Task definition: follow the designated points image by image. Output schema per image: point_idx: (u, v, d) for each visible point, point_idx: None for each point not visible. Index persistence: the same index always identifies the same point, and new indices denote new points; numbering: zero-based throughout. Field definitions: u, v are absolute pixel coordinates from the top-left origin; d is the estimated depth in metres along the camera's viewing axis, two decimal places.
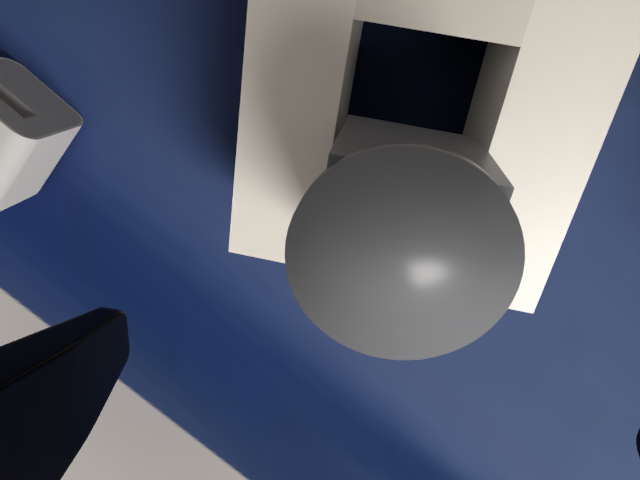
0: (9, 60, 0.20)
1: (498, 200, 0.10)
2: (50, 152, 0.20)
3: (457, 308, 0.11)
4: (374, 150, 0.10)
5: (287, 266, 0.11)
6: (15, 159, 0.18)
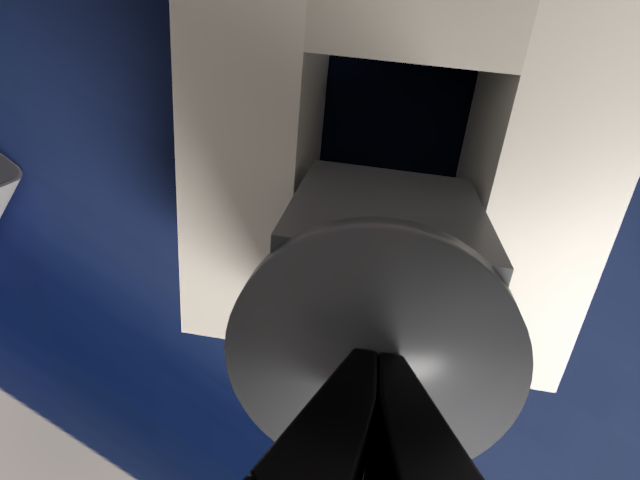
0: None
1: (493, 292, 0.07)
2: None
3: (450, 421, 0.08)
4: (324, 235, 0.07)
5: (230, 375, 0.09)
6: None
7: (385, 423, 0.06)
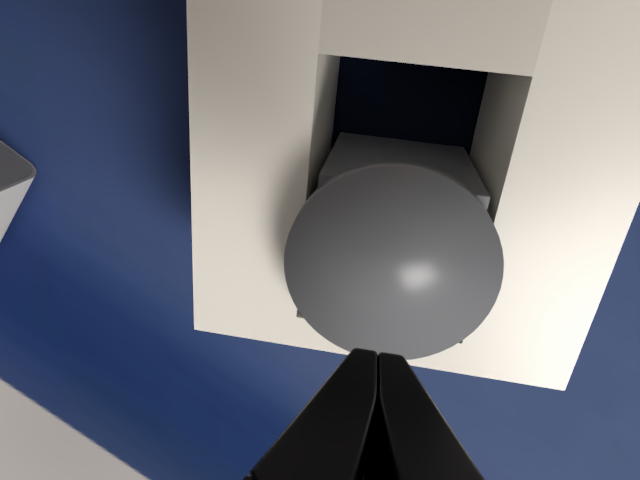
0: None
1: (474, 210, 0.11)
2: None
3: (445, 310, 0.12)
4: (358, 170, 0.11)
5: (287, 279, 0.12)
6: None
7: (385, 423, 0.06)
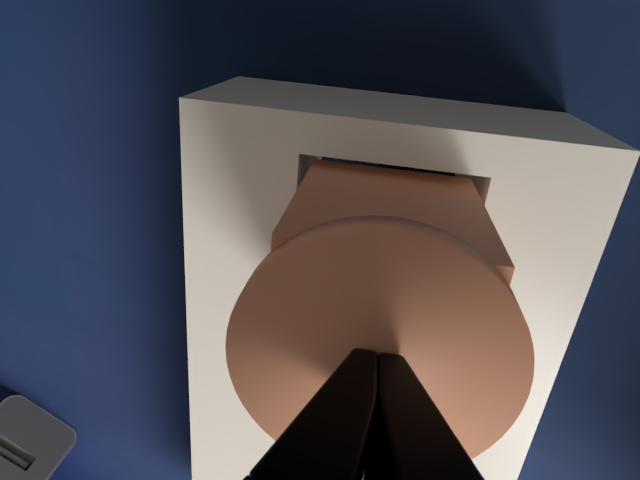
0: (11, 396, 0.24)
1: None
2: None
3: None
4: None
5: None
6: None
7: (385, 423, 0.06)
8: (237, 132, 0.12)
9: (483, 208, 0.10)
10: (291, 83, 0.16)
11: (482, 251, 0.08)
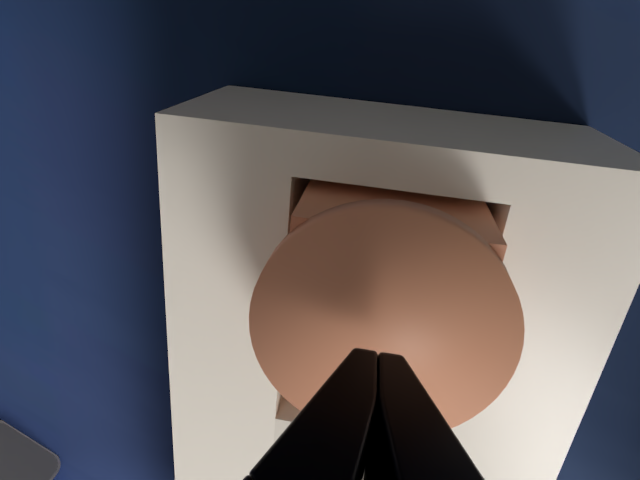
0: None
1: None
2: None
3: None
4: None
5: None
6: None
7: (385, 423, 0.06)
8: (221, 152, 0.10)
9: None
10: (285, 93, 0.14)
11: (478, 232, 0.09)
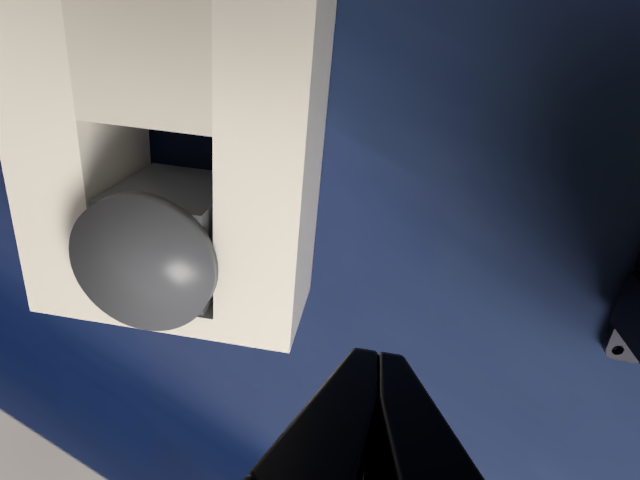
0: None
1: (182, 225, 0.16)
2: None
3: (181, 294, 0.17)
4: (105, 199, 0.16)
5: (74, 273, 0.17)
6: None
7: (385, 423, 0.06)
8: None
9: None
10: None
11: None
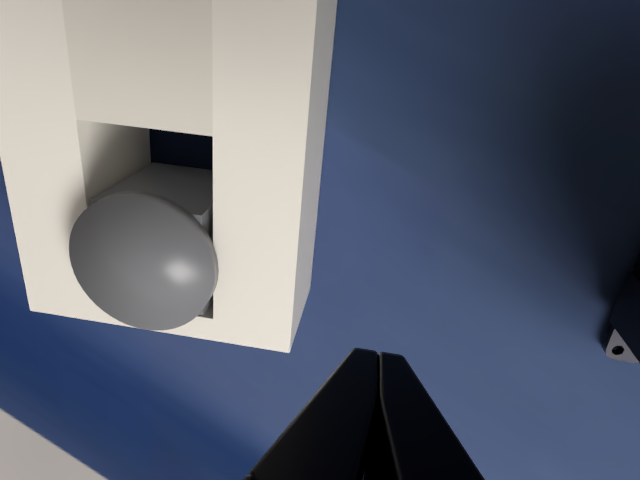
0: None
1: (182, 225, 0.16)
2: None
3: (182, 293, 0.17)
4: (105, 198, 0.16)
5: (74, 272, 0.17)
6: None
7: (385, 423, 0.06)
8: None
9: None
10: None
11: None
